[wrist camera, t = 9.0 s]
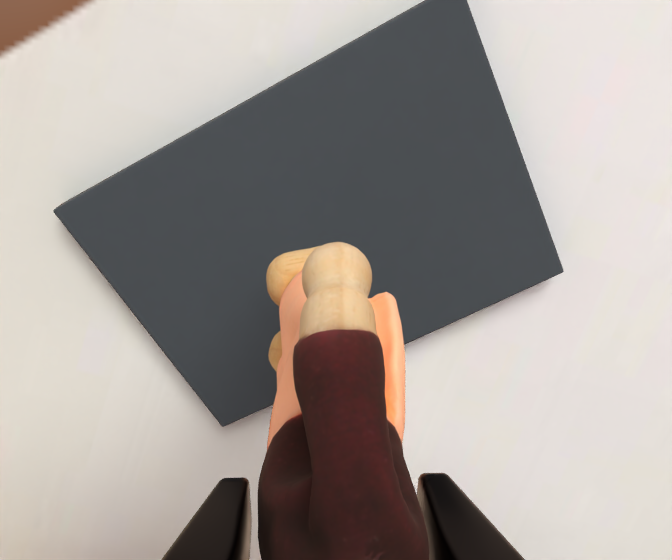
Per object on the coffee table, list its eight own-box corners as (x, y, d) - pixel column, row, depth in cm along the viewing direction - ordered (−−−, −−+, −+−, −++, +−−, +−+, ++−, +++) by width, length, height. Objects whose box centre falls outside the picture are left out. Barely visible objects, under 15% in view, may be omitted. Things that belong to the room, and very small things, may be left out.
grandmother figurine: (401, 404, 16) (679, 1322, 5) (274, 423, 16) (239, 1406, 5) (378, 147, 13) (1129, 1116, 1) (219, 170, 13) (-386, 1390, 1)
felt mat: (453, -16, 16) (460, -19, 15) (555, 263, 20) (564, 272, 19) (62, 203, 18) (52, 211, 17) (225, 414, 22) (222, 428, 21)
